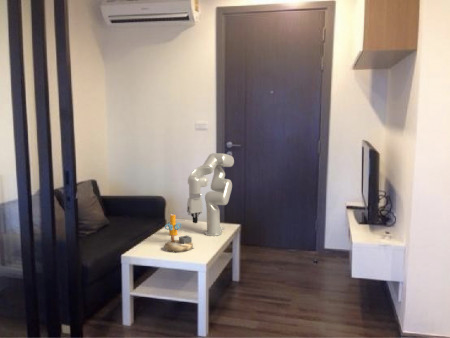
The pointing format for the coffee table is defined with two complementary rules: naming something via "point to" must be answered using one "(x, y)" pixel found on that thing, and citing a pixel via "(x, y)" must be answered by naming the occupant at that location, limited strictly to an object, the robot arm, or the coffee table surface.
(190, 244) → the turntable
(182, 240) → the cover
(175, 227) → the cylinder
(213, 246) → the coffee table surface
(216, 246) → the coffee table surface
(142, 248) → the coffee table surface
